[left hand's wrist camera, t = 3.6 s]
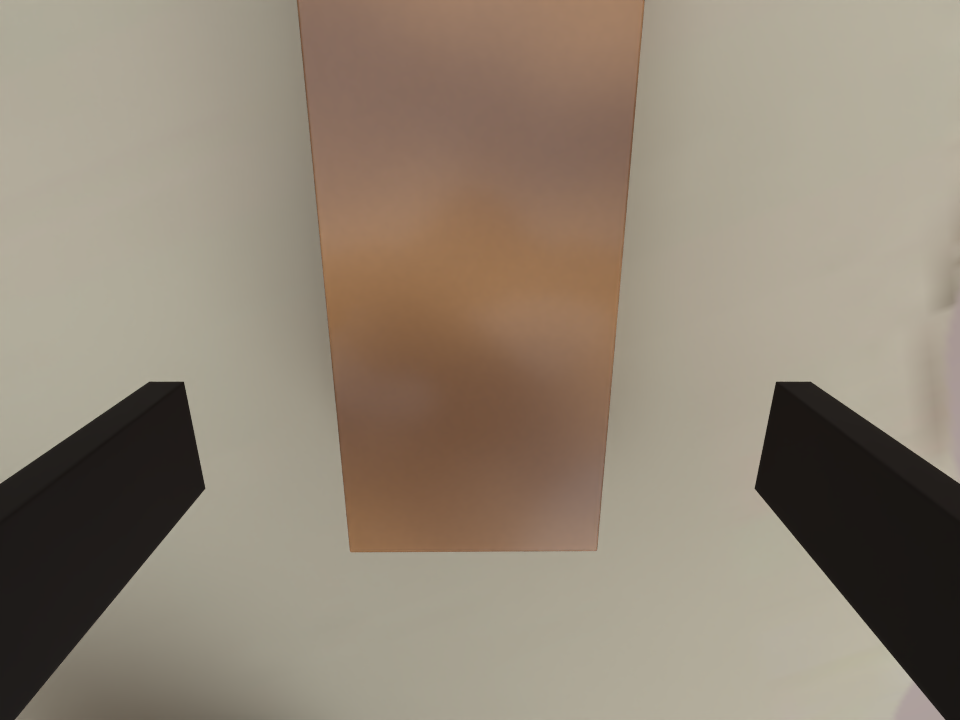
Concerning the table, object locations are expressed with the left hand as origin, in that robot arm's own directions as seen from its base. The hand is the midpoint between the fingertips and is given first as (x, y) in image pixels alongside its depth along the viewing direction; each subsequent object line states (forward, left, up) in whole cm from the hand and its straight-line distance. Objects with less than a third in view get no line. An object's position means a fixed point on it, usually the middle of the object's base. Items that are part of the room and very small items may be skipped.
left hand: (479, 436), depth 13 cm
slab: (+34, 0, -11) cm, 36 cm away
